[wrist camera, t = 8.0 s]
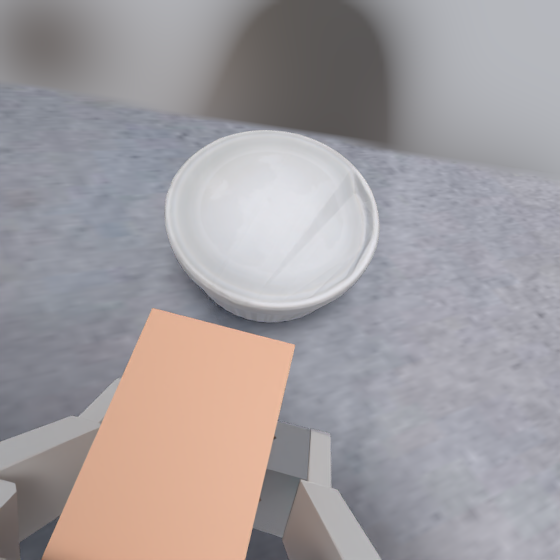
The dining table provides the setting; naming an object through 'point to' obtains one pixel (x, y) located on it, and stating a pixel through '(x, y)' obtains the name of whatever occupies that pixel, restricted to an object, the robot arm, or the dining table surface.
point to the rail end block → (178, 448)
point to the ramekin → (271, 224)
